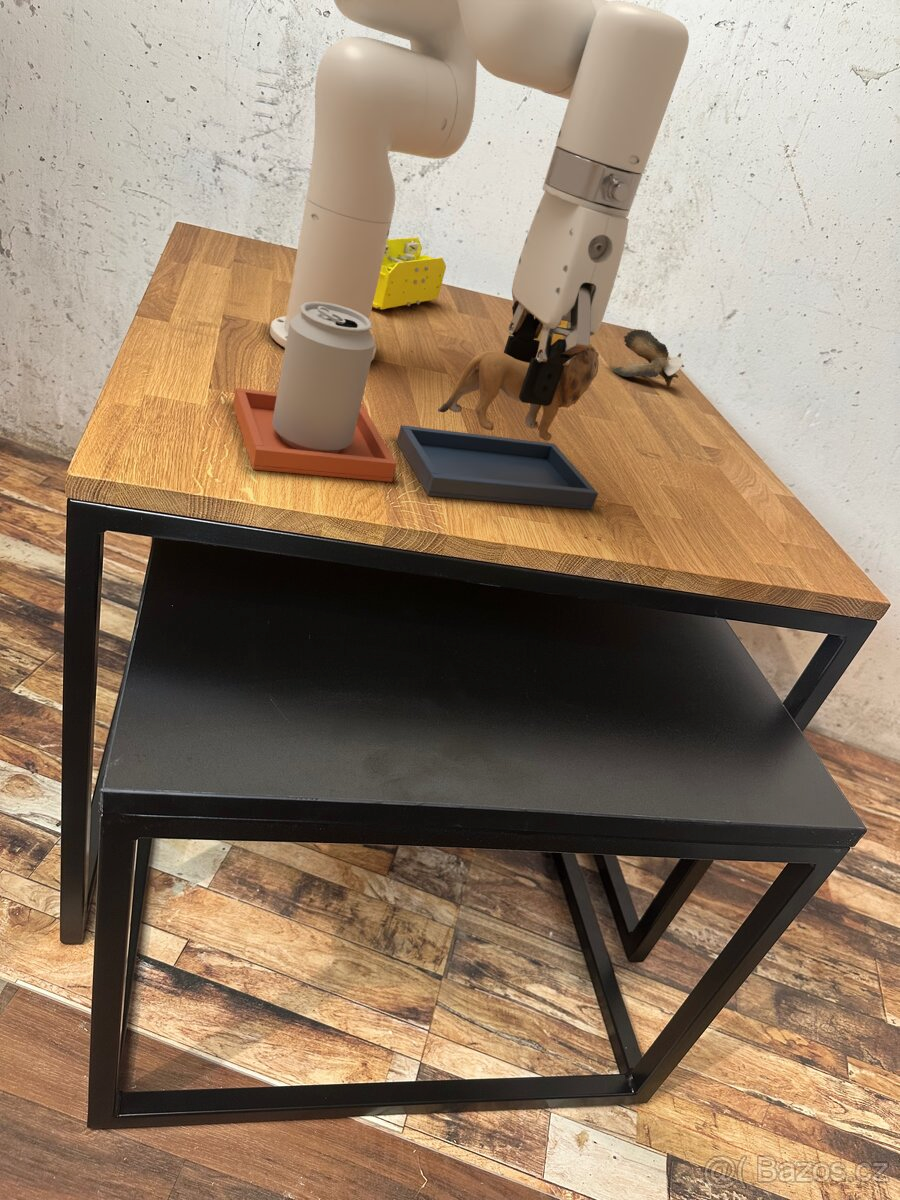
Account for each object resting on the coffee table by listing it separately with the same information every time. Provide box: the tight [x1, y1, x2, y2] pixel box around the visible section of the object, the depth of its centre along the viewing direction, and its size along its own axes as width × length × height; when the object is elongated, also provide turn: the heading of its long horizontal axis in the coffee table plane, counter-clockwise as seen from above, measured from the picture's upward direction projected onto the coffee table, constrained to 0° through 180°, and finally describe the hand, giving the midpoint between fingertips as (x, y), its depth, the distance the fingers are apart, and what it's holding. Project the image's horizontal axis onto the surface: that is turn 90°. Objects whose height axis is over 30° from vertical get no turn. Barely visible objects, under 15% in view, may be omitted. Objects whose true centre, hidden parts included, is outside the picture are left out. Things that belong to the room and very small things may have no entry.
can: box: [272, 302, 376, 454], centre depth 77 cm, size 8×8×12 cm
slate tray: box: [396, 424, 599, 511], centre depth 85 cm, size 11×18×2 cm, turn 109°
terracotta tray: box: [232, 387, 397, 483], centre depth 80 cm, size 13×13×2 cm
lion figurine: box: [437, 344, 600, 441], centre depth 80 cm, size 15×5×9 cm, turn 110°
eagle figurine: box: [612, 328, 685, 389], centre depth 128 cm, size 8×7×9 cm
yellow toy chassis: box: [372, 237, 447, 311], centre depth 125 cm, size 16×6×8 cm, turn 150°
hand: (523, 388), depth 81 cm, fingers closed on lion figurine, 4 cm apart
